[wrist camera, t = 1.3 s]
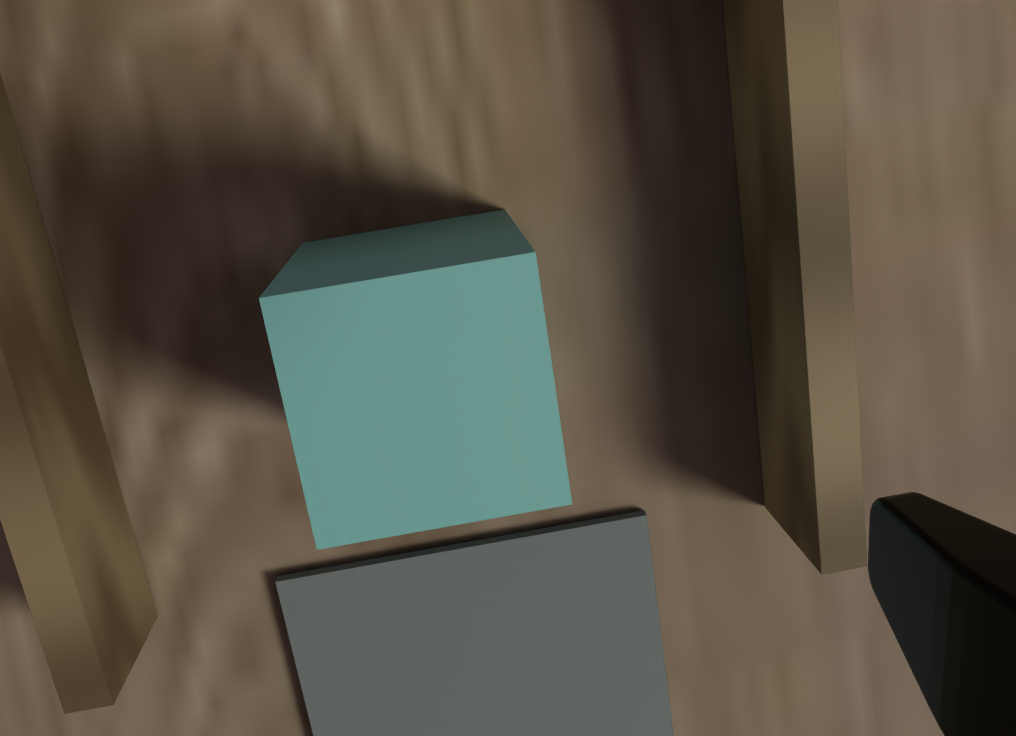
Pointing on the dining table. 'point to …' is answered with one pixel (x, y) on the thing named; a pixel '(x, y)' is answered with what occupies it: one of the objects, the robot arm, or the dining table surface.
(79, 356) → the walnut crate
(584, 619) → the grey rubber mat
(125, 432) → the dining table surface
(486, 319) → the teal block
